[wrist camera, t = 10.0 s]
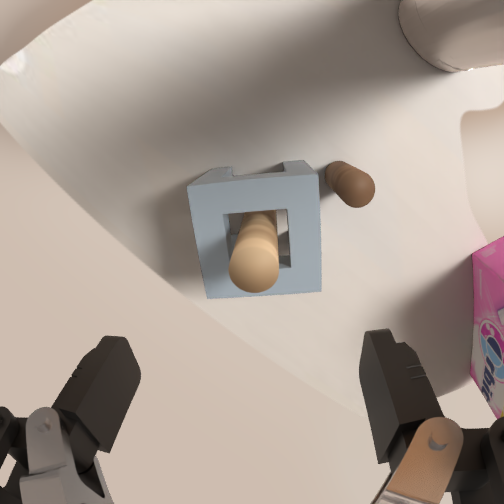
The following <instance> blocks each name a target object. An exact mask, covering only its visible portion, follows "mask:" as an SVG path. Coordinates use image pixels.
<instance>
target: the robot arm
mask: <svg viewBox="0 0 504 504" xmlns="http://www.w3.org/2000/svg"><path fill="white" fill-rule="evenodd" d="M399 21H400V25H401V28H402V30H403V33H404V35H405V37H406V38H407V40H408V42H409V43H410V45H411V46H412V47H413V48H414V50H415V51H416V52H417V53H418V54H419V55H420V56H421V57H422V58H423V59H424V60H426V61H427V62H428V63H430V64H431V65H433V66H435V67H437V68H439V69H441V70H444V71H448V72H458V71H466V70H472V69H475V68H482V67H488V66H495V65H503V64H504V0H402V1H401V2H400V6H399ZM359 378H360V384H361V388H362V392H363V396H364V400H365V404H366V408H367V413H368V417H369V421H370V426H371V430H372V435H373V440H374V445H375V450H376V455H377V460H378V464H381V463H386V462H389V465H390V469H391V472H390V473H389V475H388V477H387V478H386V480H385V482H384V483H383V485H382V487H381V488H380V490H379V491H378V493H377V494H376V496H375V498H374V499H373V501H372V502H371V504H439V503H440V501H441V499H442V497H443V495H444V492H451V495H452V500H453V504H504V416H503V417H500V418H499V419H497V420H496V421H495V422H494V423H493V425H492V426H491V427H490V428H481V429H480V428H479V429H464V428H460V426H459V425H458V424H457V423H456V422H454V421H453V420H451V419H449V418H445V416H444V415H443V413H442V411H441V408H440V406H439V403H438V401H437V398H436V396H435V394H434V391H433V389H432V387H431V384H430V382H429V380H428V378H427V377H426V373H425V371H424V369H423V367H421V363H420V360H419V358H418V356H417V354H416V352H415V351H414V350H413V349H412V348H411V347H409V346H408V345H407V344H406V343H405V342H402V343H396V342H395V340H394V337H393V335H392V333H391V331H390V330H389V329H380V330H372V331H366V332H365V335H364V341H363V347H362V353H361V359H360V364H359ZM140 379H141V372H140V367H139V365H138V363H137V361H136V359H135V356H134V354H133V352H132V349H131V347H130V345H129V343H128V340H127V339H126V338H125V337H118V336H104V337H103V338H102V339H101V341H100V342H99V344H98V345H97V347H96V348H94V349H92V350H91V351H90V352H89V353H87V354H86V355H85V356H84V357H83V358H82V360H81V361H80V363H79V364H78V366H77V369H75V370H74V372H73V374H72V377H70V378H69V380H68V381H67V383H66V384H65V386H64V388H63V389H62V391H61V392H60V394H59V396H58V397H57V399H56V400H55V402H54V404H53V405H52V407H51V408H50V407H42V408H39V409H37V410H35V411H34V412H33V413H32V414H31V415H30V416H29V418H18V417H17V418H16V417H14V416H13V414H12V413H11V412H10V411H9V410H8V409H7V408H5V407H0V468H1V466H2V464H3V462H4V460H5V458H6V456H7V454H10V455H11V456H12V457H13V458H14V459H15V460H16V461H17V462H16V464H15V466H14V468H13V470H12V473H11V475H10V477H9V480H8V482H7V484H6V486H5V487H3V488H2V487H1V486H0V504H114V502H113V501H112V498H111V496H110V493H109V491H108V488H107V485H106V482H105V479H104V476H103V474H102V470H101V467H100V464H99V461H98V459H97V457H96V456H95V455H96V452H97V450H100V451H103V452H107V453H110V451H111V448H112V446H113V444H114V441H115V439H116V436H117V434H118V432H119V429H120V427H121V425H122V422H123V420H124V418H125V415H126V413H127V410H128V408H129V406H130V404H131V401H132V399H133V397H134V395H135V392H136V390H137V388H138V385H139V383H140Z"/></svg>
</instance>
